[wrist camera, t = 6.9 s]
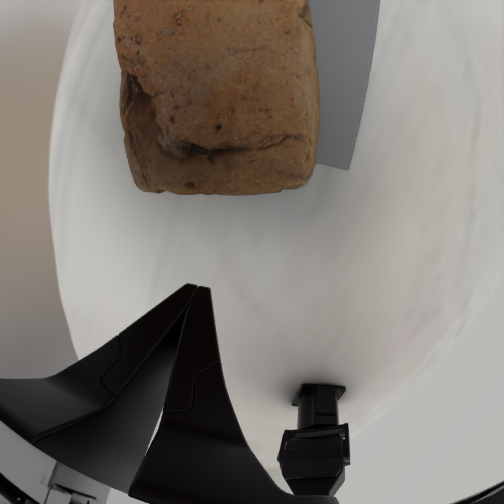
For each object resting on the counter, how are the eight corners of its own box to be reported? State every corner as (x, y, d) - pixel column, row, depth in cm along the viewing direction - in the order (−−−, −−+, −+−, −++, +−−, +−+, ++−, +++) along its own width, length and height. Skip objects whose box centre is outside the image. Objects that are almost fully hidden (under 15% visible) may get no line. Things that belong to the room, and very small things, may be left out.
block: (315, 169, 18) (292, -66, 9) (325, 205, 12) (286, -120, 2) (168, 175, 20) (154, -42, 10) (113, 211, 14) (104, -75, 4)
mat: (346, 168, 19) (348, 170, 19) (164, 139, 19) (161, 140, 19) (379, -17, 10) (381, -19, 10) (191, -40, 11) (189, -43, 10)
